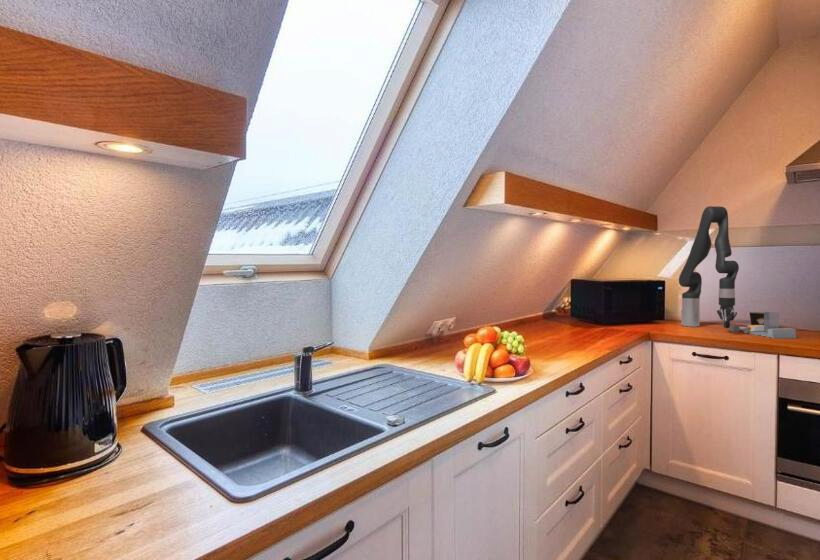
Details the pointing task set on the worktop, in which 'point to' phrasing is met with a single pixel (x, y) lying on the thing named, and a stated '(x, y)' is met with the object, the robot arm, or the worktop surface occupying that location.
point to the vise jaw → (747, 328)
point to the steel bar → (771, 321)
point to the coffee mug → (757, 318)
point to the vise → (775, 333)
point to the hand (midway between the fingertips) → (726, 328)
